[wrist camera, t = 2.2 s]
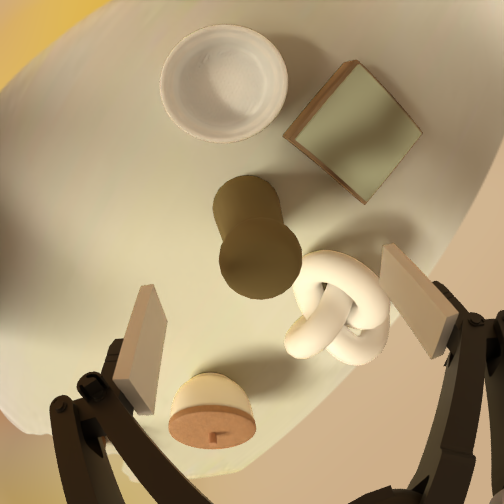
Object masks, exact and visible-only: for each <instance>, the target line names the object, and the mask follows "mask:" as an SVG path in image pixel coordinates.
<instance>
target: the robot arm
mask: <svg viewBox="0 0 504 504" xmlns="http://www.w3.org/2000/svg"><path fill="white" fill-rule="evenodd" d="M379 285H380V286H381V288H382V289H383V290H384V292H385V293H386V295H387V296H388V297H389V299H390V300H391V301H392V303H393V304H394V306H395V307H396V308H397V310H398V311H399V313H400V314H401V316H402V317H403V318H404V320H405V321H406V323H407V324H408V326H409V327H410V328H411V330H412V331H413V333H414V334H415V336H416V337H417V339H418V340H419V342H420V343H421V345H422V346H423V348H424V349H425V351H426V353H427V354H428V356H429V357H430V359H434V358H436V357H439V356H441V355H443V354H444V351H445V349H446V346H447V348H448V349H449V350H450V353H449V355H448V358H447V360H446V362H445V364H444V366H446V371H445V376H444V381H443V385H442V390H441V394H440V398H439V402H438V407H437V410H436V414H435V418H434V421H433V424H432V428H431V431H430V434H429V437H428V441H427V444H426V447H425V450H424V453H423V455H422V458H421V461H420V464H419V467H418V469H417V472H416V474H415V475H414V477H413V479H412V480H411V482H410V484H409V486H408V488H407V489H392V488H391V485H390V486H387V487H384V488H381V489H379V490H376V491H373V492H370V493H367V494H365V495H363V496H361V497H359V498H358V499H356V500H354V501H352V502H350V503H348V504H464V501H465V498H466V495H467V491H468V488H469V485H470V481H471V478H472V474H473V471H474V467H475V461H476V457H475V456H474V455H473V448H474V443H475V438H476V433H477V428H478V422H479V416H480V410H481V403H482V395H483V385H484V378H485V385H486V392H487V400H488V408H489V418H490V431H491V452H492V453H491V457H492V458H491V460H492V470H491V471H492V472H491V475H492V476H491V478H492V492H493V498H492V499H491V501H490V504H504V310H502V311H500V312H498V314H497V317H496V319H484V318H483V317H482V316H481V315H479V314H477V313H472V312H470V313H469V312H468V311H467V310H466V309H465V308H464V306H463V305H462V304H461V303H460V302H459V301H458V300H457V299H456V297H454V295H453V294H452V293H451V292H450V291H449V290H448V289H447V288H446V287H445V286H444V285H443V284H441V283H439V282H438V281H434V282H431V281H430V280H429V279H428V278H427V277H426V276H425V274H424V273H423V272H422V271H421V270H420V269H419V268H418V267H417V266H416V265H415V264H414V263H413V262H412V261H411V260H410V259H409V258H408V257H407V256H406V255H405V254H404V253H403V252H402V251H401V250H400V249H399V248H398V247H397V246H396V245H395V244H394V243H392V244H386V245H383V247H382V258H381V268H380V278H379ZM167 322H168V321H167V319H166V316H165V313H164V311H163V308H162V306H161V303H160V300H159V298H158V295H157V292H156V290H155V287H154V284H150V285H144V286H141V287H140V290H139V293H138V296H137V299H136V302H135V305H134V308H133V311H132V314H131V317H130V320H129V324H128V327H127V330H126V333H125V337H124V338H123V339H115V340H114V341H113V343H112V344H111V345H110V346H109V349H108V352H107V356H106V359H105V363H104V365H103V368H102V372H101V374H100V373H98V372H89V373H87V374H85V375H83V376H82V377H81V378H80V380H79V381H78V383H77V390H78V392H79V393H80V395H81V396H82V397H83V398H81V399H77V400H74V401H72V399H71V398H69V397H68V396H66V395H61V396H58V397H56V398H55V399H54V400H53V401H52V403H51V405H50V410H49V411H50V420H51V428H52V435H53V441H54V447H55V453H56V458H57V464H58V468H59V473H60V477H61V482H62V485H63V490H64V494H65V497H66V501H67V504H125V502H124V500H123V497H122V495H121V492H120V490H119V487H118V485H117V482H116V479H115V477H114V474H113V471H112V469H111V465H110V463H109V460H108V457H107V454H106V450H105V447H104V444H103V441H102V436H106V435H107V436H108V438H109V439H110V441H111V442H112V444H113V445H114V447H115V448H116V450H117V451H118V453H119V454H120V456H121V457H122V458H123V460H124V461H125V463H126V464H127V465H128V467H129V468H130V469H131V471H132V472H133V473H134V475H135V476H136V477H137V479H138V480H139V481H140V483H141V484H142V485H143V486H144V487H145V489H146V490H147V491H148V492H149V494H150V495H151V496H152V497H153V498H154V499H155V501H156V502H157V503H158V504H213V503H212V502H211V501H210V500H209V499H208V498H207V497H206V496H204V495H203V494H202V493H201V492H200V491H199V490H198V489H197V488H196V487H195V486H194V485H193V484H192V483H191V482H190V481H189V480H188V479H187V478H186V477H185V476H184V475H183V474H182V473H181V472H180V471H179V470H178V469H177V468H176V467H175V465H174V464H173V463H172V462H171V461H170V460H169V459H168V458H167V457H166V456H165V455H164V453H163V452H162V451H161V450H160V449H159V448H158V447H157V445H156V444H155V443H154V442H153V441H152V440H151V438H150V437H149V436H148V435H147V433H146V432H145V431H144V430H143V429H142V427H141V426H140V425H139V424H138V422H137V421H136V420H135V418H134V417H133V411H134V410H135V411H136V412H137V414H138V415H154V410H155V401H156V394H157V386H158V379H159V372H160V365H161V358H162V352H163V346H164V339H165V333H166V327H167Z"/></svg>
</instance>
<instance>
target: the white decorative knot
mask: <svg viewBox="0 0 504 504" xmlns="http://www.w3.org/2000/svg"><path fill="white" fill-rule="evenodd" d="M322 282H325V283H328V285H327V287H326V289H325V291H324V289H323V286H322ZM293 291H294V295H295V298H296V301H297V303H298V305H299V307H300V309H301V311H302V313H303V315H302V316H301V317H300V318H299V319H298V320H297V321H296V322H295V323H294V324H293V325H292V326H291V327H290V329H289V330H288V331H287V333H286V335H285V340H284V346H285V348H286V351H287V353H289V354H290V355H291V356H293V357H294V358H299V359H307V358H310V357H312V356H314V355H316V354H318V353H319V352H321V351H323V350H324V349H326V350H327V351H328V352H329V353H330V354H331V355H332V356H334V357H335V358H336V359H338V360H339V361H341V362H344V363H346V364H350V365H363V364H367V363H368V362H370V361H372V360H373V359H375V358H376V357H377V356H378V355H379V354H380V353H381V352H382V350H383V349H384V347H385V345H386V342H387V339H388V335H389V328H390V315H389V312H390V299H389V297H388V296H387V295H386V293H385V292H384V290H383V289H382V288H381V286H380V285H379V278H378V276H377V275H376V274H375V273H374V272H373V271H372V270H371V269H369V268H368V267H367V266H366V265H364V264H363V263H361V262H360V261H358V260H356V259H355V258H353V257H351V256H349V255H346V254H344V253H341V252H337V251H333V250H319V251H315V252H311V253H309V254H307V255H305V256H303V257H302V267H301V270H300V274H299V276H298V277H297V279H296V280H295V282H294V283H293ZM347 327H350V328H354V329H359V330H362V331H361V334H360V335H359V336H357V335H355V334H354V333H353V332H352V331H350V330H349V329H348V328H347Z"/></svg>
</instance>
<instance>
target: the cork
mask: <svg viewBox="0 0 504 504" xmlns="http://www.w3.org/2000/svg"><path fill="white" fill-rule="evenodd" d="M213 213H214V218H215V221H216V224H217V227H218V229H219V232H220V235H221V237H222V240H223V243H222V245H221V249H220V255H219V264H220V269H221V274H222V276H223V277H224V279H225V281H226V282H227V284H228V285H229V287H230V288H232V289H233V290H234V291H235V292H237V293H238V294H240V295H243V296H245V297H248V298H251V299H260V300H263V299H269V298H273V297H276V296H278V295H280V294H282V293H284V292H285V291H286V290H287V289H289V288H290V287H291V286H292V284H293V283H294V282H295V280H296V279H297V277H298V276H299V274H300V270H301V267H302V249H301V246H300V244H299V242H298V239H297V237H296V236H295V234H294V233H293V232H292V231H291V230H290V229H289V228H288V227H287V226H286V225H284V222H283V217H282V212H281V207H280V202H279V198H278V195H277V193H276V191H275V189H274V188H273V187H272V186H271V185H270V184H269V183H268V182H267V181H265V180H263V179H261V178H259V177H255V176H249V175H246V176H239V177H235V178H233V179H231V180H229V181H227V182H226V183H225V184H224V185H223V186H222V187H221V188H220V189H219V190H218V192H217V194H216V196H215V198H214V203H213Z"/></svg>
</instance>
